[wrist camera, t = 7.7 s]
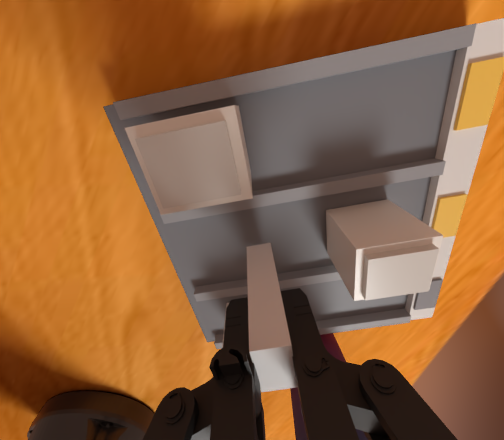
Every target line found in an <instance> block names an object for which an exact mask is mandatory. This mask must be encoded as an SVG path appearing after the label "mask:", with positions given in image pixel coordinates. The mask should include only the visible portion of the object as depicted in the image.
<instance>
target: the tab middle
mask: <svg viewBox="0 0 504 440" xmlns="http://www.w3.org/2000/svg"><path fill="white" fill-rule="evenodd" d="M326 232H327V253H328V255H329V257H330V259H331V261H332V262H333V264H334V266H335V268H336V270H337V271H338V273H339V275H340V277H341V279H342V280H343V282H344V284H345V286H346V288H347V289H348V291H349V293H350V295H351V297H352V298H353V300H354V301H358V300H365V301H366V300H373V299H380V298H386V297H393V296H400V295H407V294H414V293H421V292H428V291H429V289H430V285H431V281H432V278H433V274H434V270H435V266H436V262H437V258H438V254H439V251H440V247H441V243H442V239H443V235H442V234H440V233H439V232H437V231H436V230H434V229H433V228H431V227H430V226H428V225H427V224H425V223H424V222H422V221H420V220H419V219H417V218H416V217H414V216H413V215H411V214H410V213H408V212H407V211H405V210H404V209H402V208H400V207H399V206H397V205H396V204H394V203H393V202H391V201H390V200H388V199H387V200H381V201H375V202H369V203H363V204H358V205H352V206H346V207H340V208H335V209H329V210H326Z"/></svg>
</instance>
